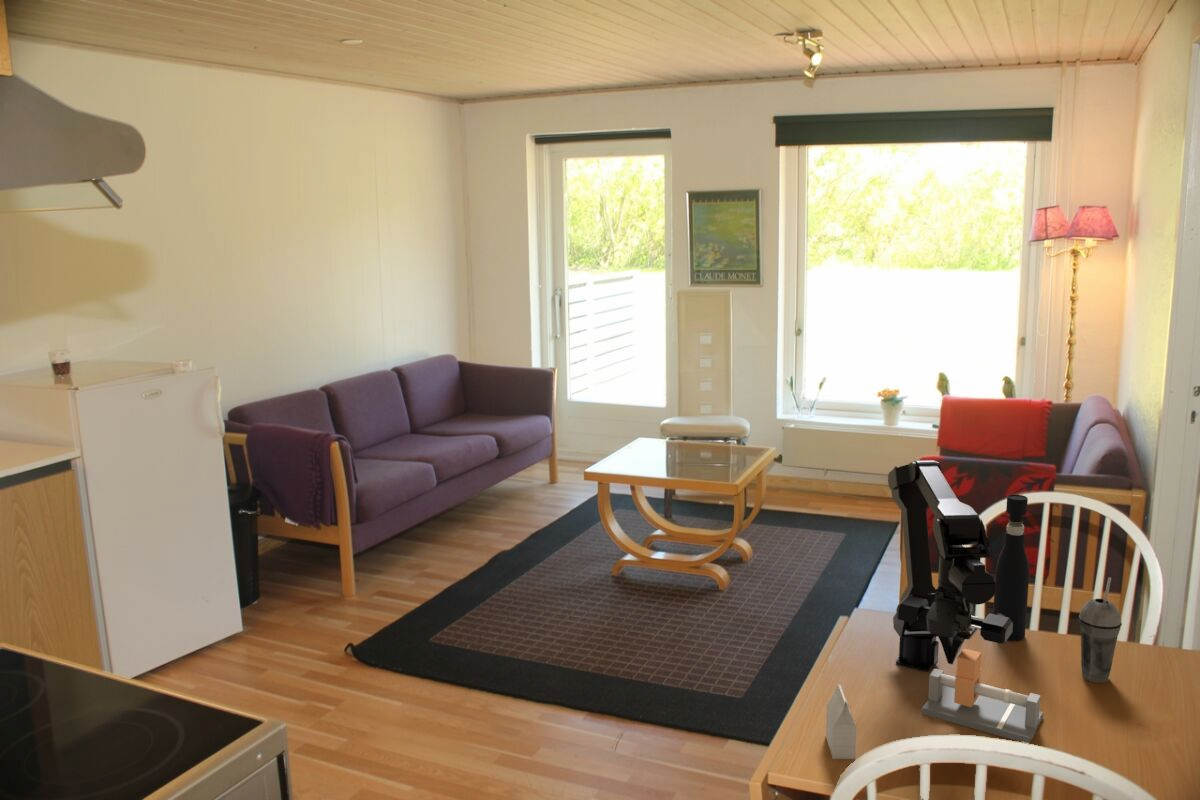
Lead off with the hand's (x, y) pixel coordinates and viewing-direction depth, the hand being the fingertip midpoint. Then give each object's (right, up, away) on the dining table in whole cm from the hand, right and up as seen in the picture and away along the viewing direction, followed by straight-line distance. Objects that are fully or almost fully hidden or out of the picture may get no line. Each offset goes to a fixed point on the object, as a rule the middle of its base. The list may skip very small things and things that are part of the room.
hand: (950, 663), depth 174 cm
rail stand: (+5, -9, -1) cm, 10 cm away
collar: (+3, -6, 0) cm, 7 cm away
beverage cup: (+31, -6, +11) cm, 34 cm away
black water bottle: (+23, -2, +29) cm, 37 cm away
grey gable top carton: (-22, -12, -10) cm, 27 cm away
